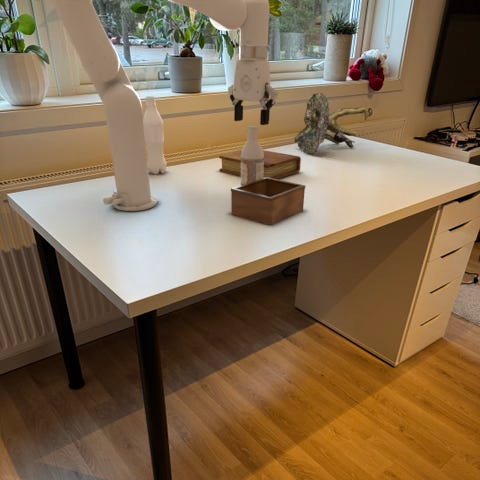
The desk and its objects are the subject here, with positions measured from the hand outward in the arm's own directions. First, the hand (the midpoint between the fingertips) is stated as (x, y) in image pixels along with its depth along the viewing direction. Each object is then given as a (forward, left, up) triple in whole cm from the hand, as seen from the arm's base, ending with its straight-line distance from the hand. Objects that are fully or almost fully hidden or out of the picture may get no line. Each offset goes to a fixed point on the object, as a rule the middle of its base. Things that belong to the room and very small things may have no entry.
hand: (251, 122), depth 130 cm
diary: (+24, +16, -21) cm, 36 cm away
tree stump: (+75, +20, -21) cm, 81 cm away
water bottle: (-1, +44, -21) cm, 49 cm away
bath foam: (0, 0, -21) cm, 21 cm away
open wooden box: (-10, -14, -21) cm, 27 cm away
